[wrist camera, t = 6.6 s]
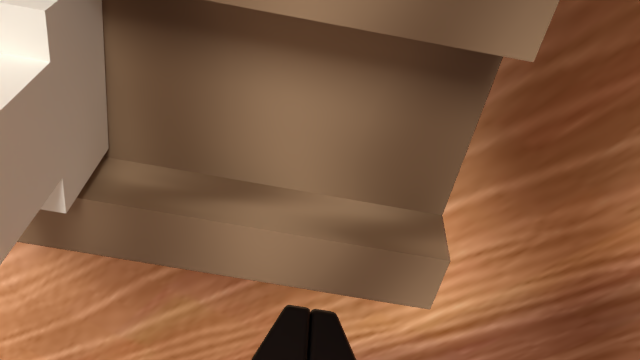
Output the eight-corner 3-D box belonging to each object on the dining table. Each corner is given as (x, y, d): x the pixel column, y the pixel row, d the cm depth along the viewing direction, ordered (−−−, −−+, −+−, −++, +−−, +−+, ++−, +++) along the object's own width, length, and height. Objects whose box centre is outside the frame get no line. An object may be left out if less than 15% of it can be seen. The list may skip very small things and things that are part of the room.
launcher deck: (502, -100, 17) (572, -31, 12) (412, 174, 23) (430, 309, 17) (-54, -214, 16) (-274, -199, 11) (-1, 101, 22) (-126, 218, 16)
